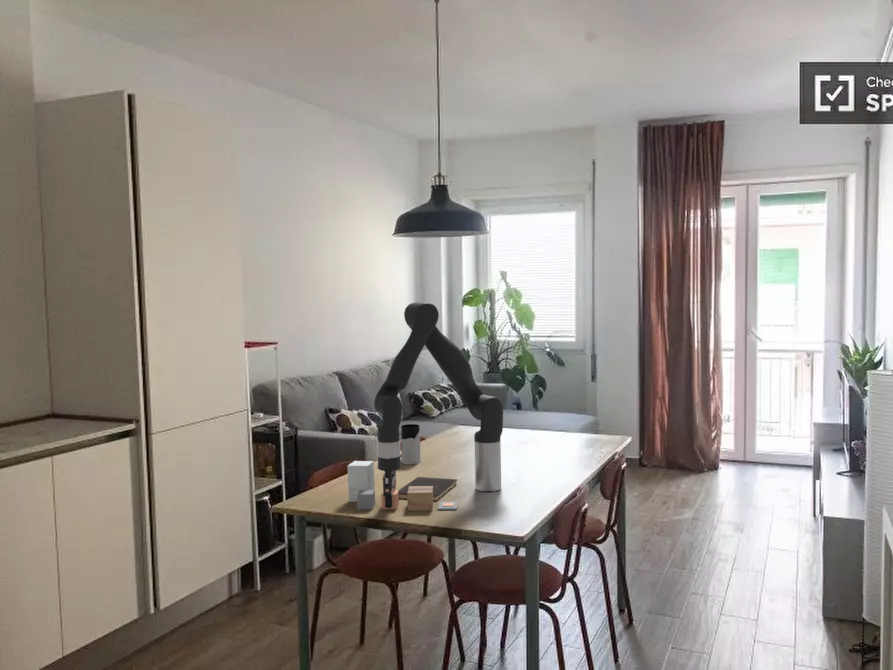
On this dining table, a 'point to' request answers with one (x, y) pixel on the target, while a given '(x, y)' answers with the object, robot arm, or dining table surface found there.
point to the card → (448, 505)
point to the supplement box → (360, 478)
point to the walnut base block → (420, 498)
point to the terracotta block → (394, 499)
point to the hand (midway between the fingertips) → (390, 504)
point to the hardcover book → (438, 485)
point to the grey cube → (366, 499)
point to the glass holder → (410, 444)
